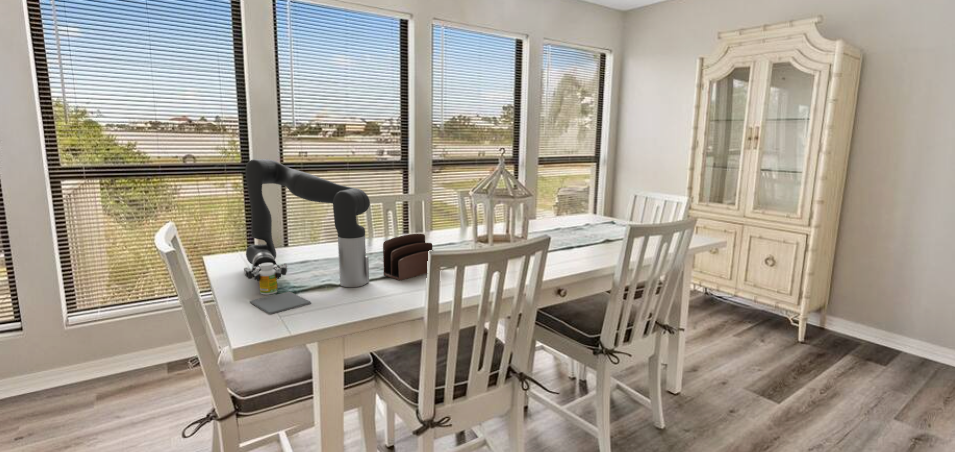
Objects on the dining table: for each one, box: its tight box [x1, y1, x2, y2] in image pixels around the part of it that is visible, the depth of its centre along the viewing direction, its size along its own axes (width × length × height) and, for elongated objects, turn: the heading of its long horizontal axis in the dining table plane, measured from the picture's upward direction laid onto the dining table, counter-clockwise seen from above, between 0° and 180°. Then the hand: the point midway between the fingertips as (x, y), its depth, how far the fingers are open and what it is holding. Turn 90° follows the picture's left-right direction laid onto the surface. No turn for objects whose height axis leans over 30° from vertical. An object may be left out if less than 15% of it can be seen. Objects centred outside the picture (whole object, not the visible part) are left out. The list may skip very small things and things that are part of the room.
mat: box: [249, 291, 312, 315], centre depth 157 cm, size 13×14×1 cm
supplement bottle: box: [258, 263, 278, 296], centre depth 166 cm, size 5×5×10 cm
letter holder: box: [382, 233, 433, 281], centre depth 189 cm, size 10×20×14 cm, turn 136°
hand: (268, 276), depth 163 cm, fingers closed on supplement bottle, 5 cm apart
